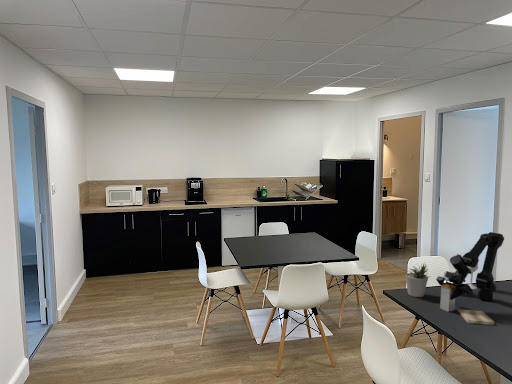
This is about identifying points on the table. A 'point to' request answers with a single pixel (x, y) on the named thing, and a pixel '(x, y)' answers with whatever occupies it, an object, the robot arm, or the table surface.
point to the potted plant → (417, 281)
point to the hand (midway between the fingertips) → (446, 297)
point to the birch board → (476, 317)
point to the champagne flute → (472, 274)
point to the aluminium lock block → (447, 297)
